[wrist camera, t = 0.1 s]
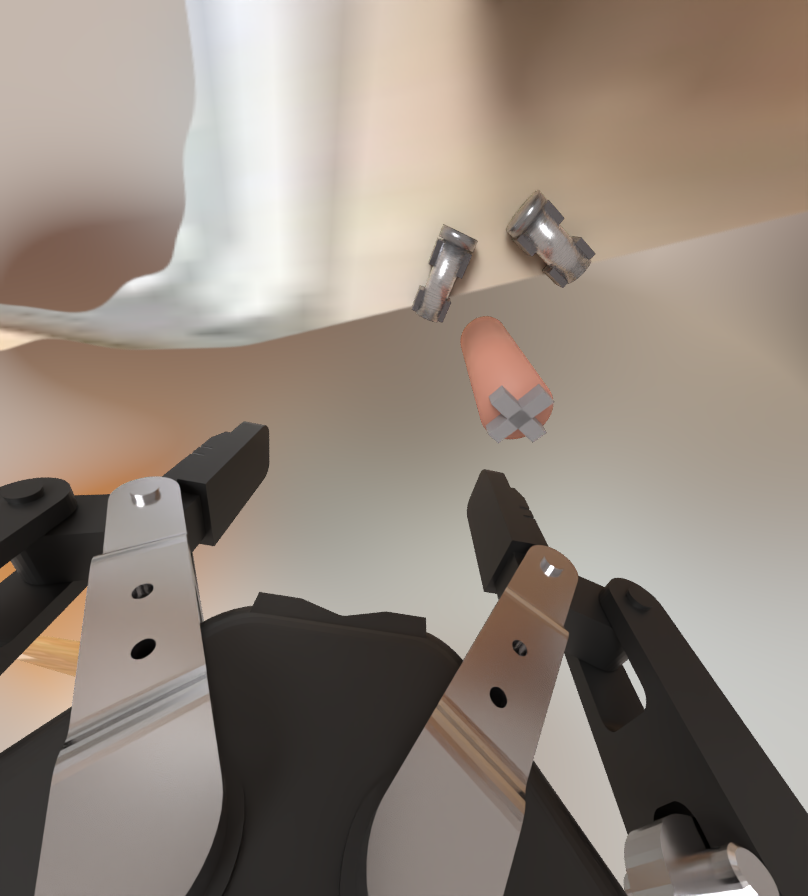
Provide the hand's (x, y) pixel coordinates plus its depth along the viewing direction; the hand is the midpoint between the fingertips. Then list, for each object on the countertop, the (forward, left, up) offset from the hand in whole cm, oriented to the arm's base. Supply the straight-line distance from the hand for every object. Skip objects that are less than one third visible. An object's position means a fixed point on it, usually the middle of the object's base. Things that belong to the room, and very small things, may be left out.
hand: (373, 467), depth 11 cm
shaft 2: (-12, +5, -22) cm, 26 cm away
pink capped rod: (-3, +7, -22) cm, 24 cm away
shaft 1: (-5, 0, -22) cm, 23 cm away
